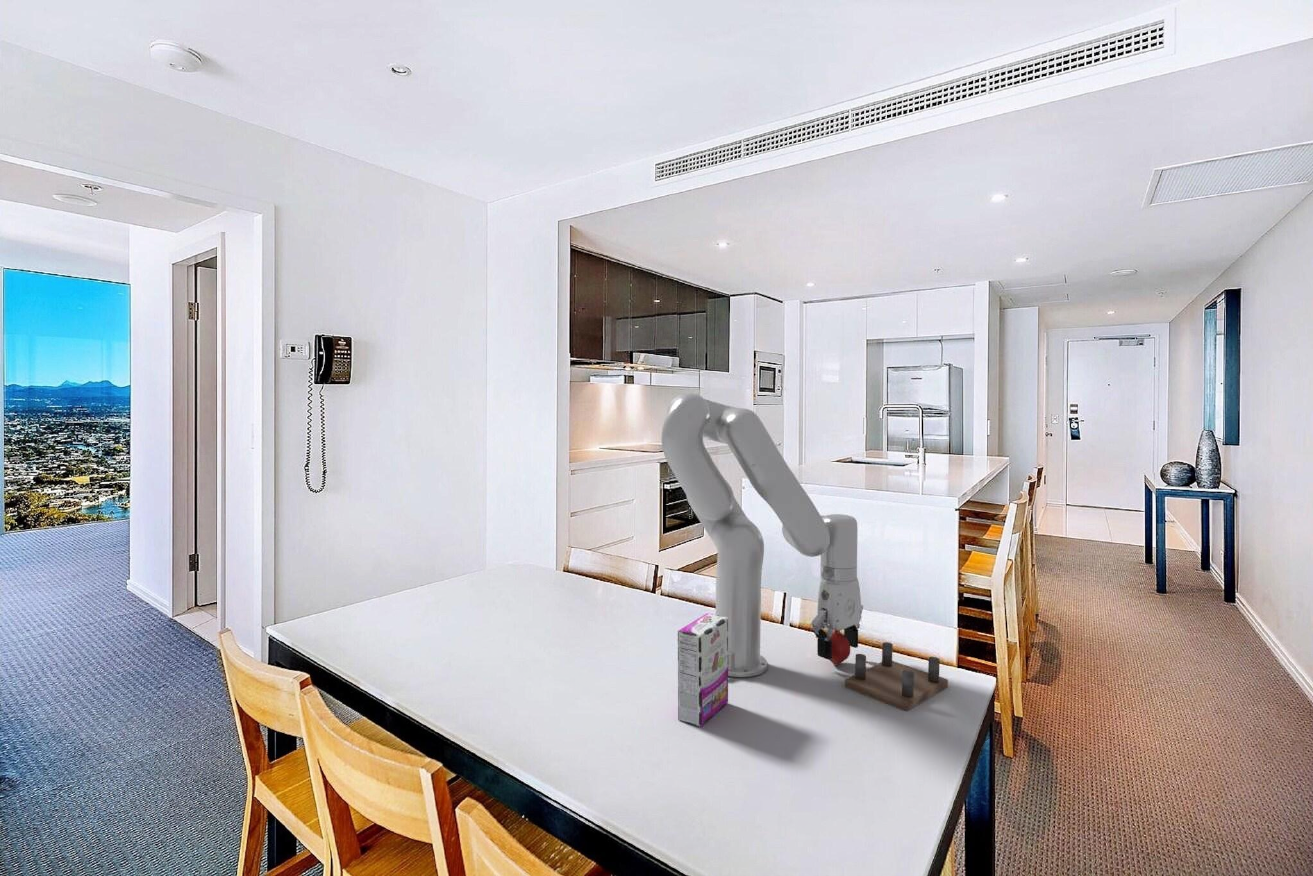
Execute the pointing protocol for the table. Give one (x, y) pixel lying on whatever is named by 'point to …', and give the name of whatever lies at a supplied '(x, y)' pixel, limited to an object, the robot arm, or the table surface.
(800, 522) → the robot arm
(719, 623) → the candy bar box
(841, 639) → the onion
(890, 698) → the peg holder
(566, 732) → the table surface
